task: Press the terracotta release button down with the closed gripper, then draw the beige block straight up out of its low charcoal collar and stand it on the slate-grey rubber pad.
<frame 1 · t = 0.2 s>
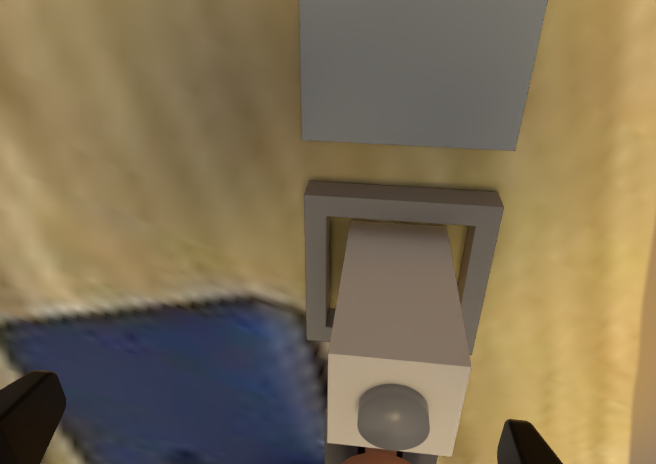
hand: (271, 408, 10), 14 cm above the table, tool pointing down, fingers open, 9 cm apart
beige block: (394, 262, 25), resting in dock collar
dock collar: (394, 263, 25), on the table
slate pad: (416, 30, 19), on the table
button housing: (382, 393, 29), on the table
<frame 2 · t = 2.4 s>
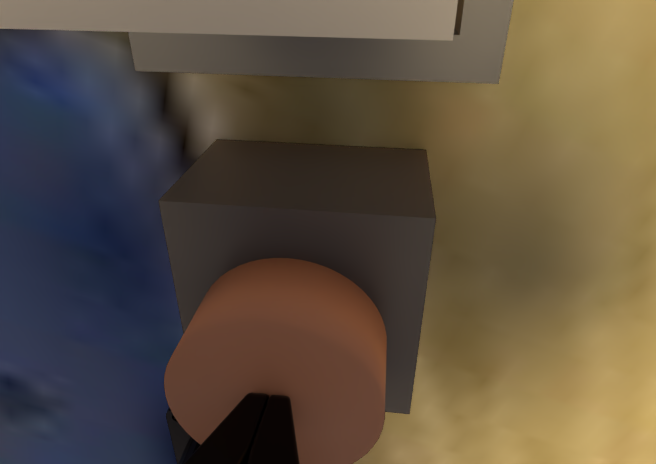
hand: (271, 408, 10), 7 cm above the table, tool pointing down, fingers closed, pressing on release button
release button: (293, 328, 12), point 4 cm above the table, slide at 0.9 cm, touching gripper
button housing: (319, 235, 15), on the table
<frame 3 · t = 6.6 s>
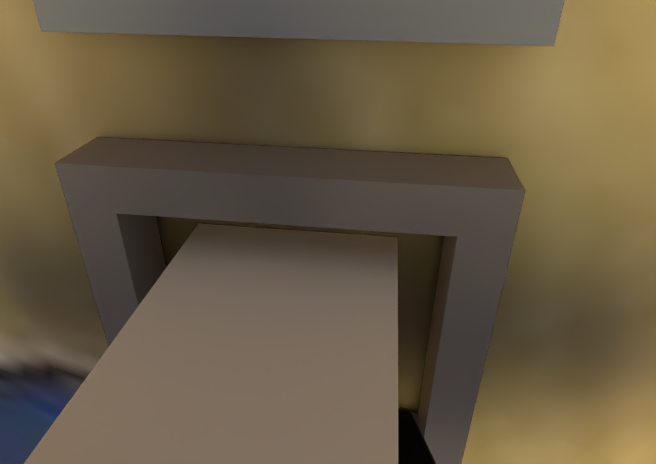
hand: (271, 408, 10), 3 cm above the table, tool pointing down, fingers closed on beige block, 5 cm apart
beige block: (298, 309, 12), resting in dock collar, touching gripper
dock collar: (298, 310, 12), on the table
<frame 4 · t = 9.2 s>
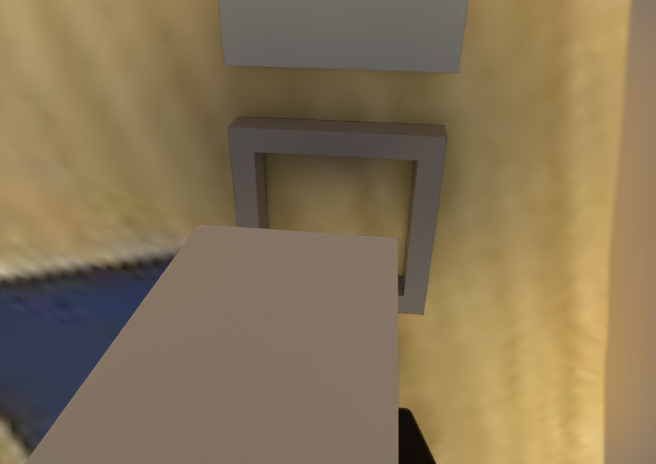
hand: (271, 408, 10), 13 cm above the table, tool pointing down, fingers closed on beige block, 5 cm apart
beige block: (298, 309, 12), point 10 cm above the table, touching gripper
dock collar: (337, 212, 22), on the table
when the fingers open (5 cm above the table, at t = 11.7 s): beige block drops 1 cm, resting on slate pad.
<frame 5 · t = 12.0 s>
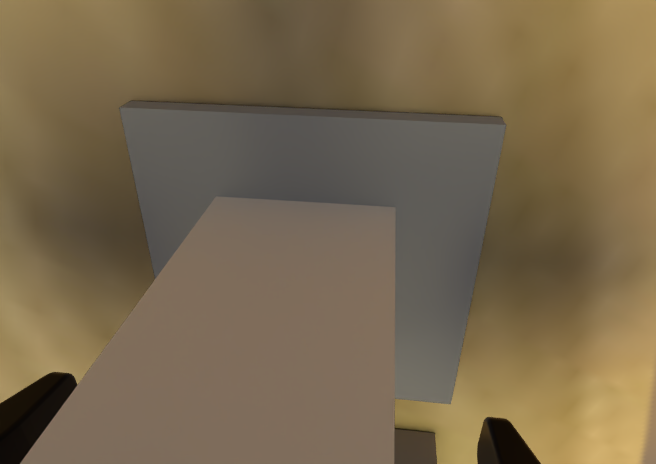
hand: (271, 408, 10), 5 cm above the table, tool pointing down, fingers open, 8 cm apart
beige block: (305, 276, 13), point 1 cm above the table, touching slate pad
slate pad: (310, 263, 14), on the table
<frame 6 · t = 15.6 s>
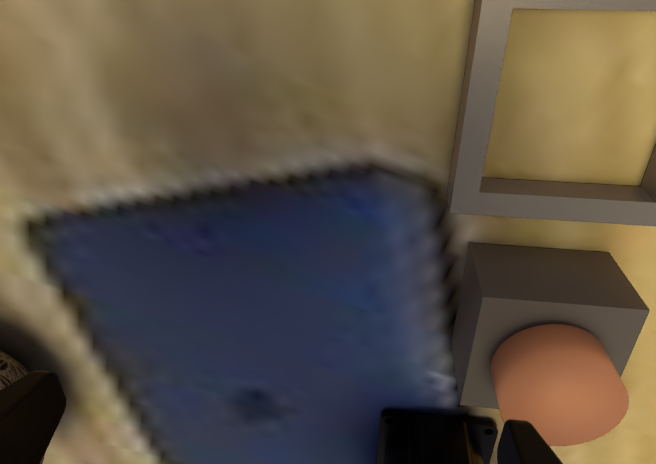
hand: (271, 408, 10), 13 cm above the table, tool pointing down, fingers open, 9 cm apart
release button: (545, 361, 20), point 4 cm above the table, slide at 1.3 cm
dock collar: (577, 101, 18), on the table
decorative egg: (3, 366, 31), on the table
button housing: (524, 300, 23), on the table
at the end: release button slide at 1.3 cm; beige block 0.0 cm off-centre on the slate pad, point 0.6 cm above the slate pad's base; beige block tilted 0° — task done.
